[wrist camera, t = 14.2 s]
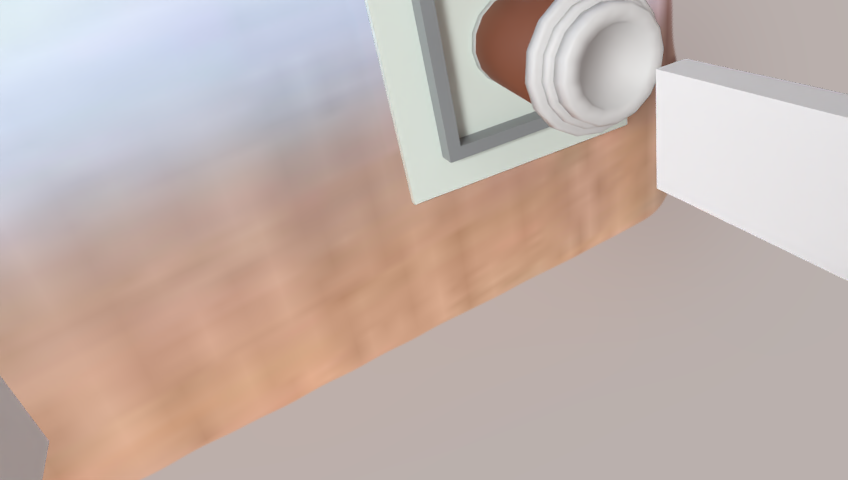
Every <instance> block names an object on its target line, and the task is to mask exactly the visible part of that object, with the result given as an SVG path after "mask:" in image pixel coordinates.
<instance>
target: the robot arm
mask: <svg viewBox="0 0 848 480" xmlns="http://www.w3.org/2000/svg"><path fill="white" fill-rule="evenodd" d="M656 152H657V189H659V190H661V191H663V192H665V193H667V194H670V195H672V196H674V197H676V198H678V199H680V200H682V201H684V202H686V203H688V204H690V205H692V206H694V207H696V208H698V209H700V210H703V211H705V212H707V213H709V214H711V215H713V216H715V217H717V218H719V219H721V220H723V221H725V222H727V223H730V224H731V225H734V226H736V227H738V228H740V229H742V230H744V231H746V232H748V233H750V234H752V235H754V236H756V237H759V238H760V239H763V240H764V241H767V242H769V243H771V244H773V245H775V246H777V247H779V248H781V249H783V250H785V251H787V252H789V253H792V254H793V255H795V256H798V257H800V258H802V259H804V260H806V261H808V262H810V263H812V264H814V265H816V266H818V267H820V268H822V269H825V270H826V271H828V272H831V273H833V274H835V275H837V276H839V277H841V278H843V279H845V280H847V281H848V94H845V93H841V92H836V91H832V90H827V89H823V88H818V87H814V86H809V85H805V84H800V83H796V82H791V81H786V80H782V79H777V78H773V77H768V76H764V75H759V74H754V73H750V72H746V71H741V70H737V69H732V68H728V67H723V66H719V65H714V64H709V63H704V62H700V61H696V60H691V59H687V58H685V59H682V60H680V61H677V62H674V63H671V64H668V65H666V66H663V67H660V68H657V69H656ZM48 445H49V440H48V439H47V438H46V436H45V435H44V434H43V432H42V431H41V430H40V428H39V427H38V426H37V424H36V423H35V422H34V420H33V419H32V418H31V416H30V415H29V414H28V412H27V411H26V410H25V408H24V407H23V406H22V404H21V403H20V402H19V400H18V399H17V398H16V396H15V395H14V394H13V392H12V391H11V390H10V388H9V387H8V386H7V384H6V383H5V382H4V380H3V379H2V378H1V376H0V480H42V478H43V472H44V467H45V461H46V456H47V450H48Z"/></svg>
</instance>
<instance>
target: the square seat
mask: <svg viewBox="0 0 848 480" xmlns="http://www.w3.org/2000/svg"><path fill="white" fill-rule="evenodd" d="M364 1H365V5H366V9H367V13H368V17H369V22H370V26H371V30H372V34H373V39H374V43H375V47H376V51H377V55H378V60H379V64H380V68H381V72H382V77H383V81H384V85H385V89H386V93H387V98H388V102H389V106H390V110H391V114H392V119H393V123H394V127H395V131H396V136H397V140H398V144H399V148H400V152H401V157H402V161H403V165H404V169H405V174H406V178H407V182H408V186H409V190H410V195H411V199H412V202H413V203H414V204H415V205H416V204H419V203H421V202H424V201H427V200H429V199H432V198H434V197H437V196H440V195H442V194H445V193H448V192H450V191H453V190H456V189H458V188H461V187H464V186H466V185H469V184H472V183H474V182H477V181H479V180H482V179H485V178H487V177H490V176H493V175H495V174H498V173H501V172H503V171H506V170H509V169H511V168H514V167H516V166H519V165H522V164H524V163H527V162H530V161H532V160H535V159H538V158H540V157H543V156H546V155H548V154H551V153H554V152H556V151H559V150H561V149H564V148H567V147H569V146H572V145H575V144H577V143H580V142H583V141H585V140H588V139H591V138H593V137H596V136H598V135H601V134H604V133H606V132H609V131H612V130H614V129H617V128H620V127H622V126H625V125H627V118H626V119H624V120H622V121H621V122H619V123H618V124H615V125H613V126H612V127H610V128H608V129H607V130H605V131H603V132H601V133H595V134H589V135H583V136H574V135H571V134H568V133H565V132H562V131H559V130H556V129H554V128H551V127H550V126H549V125H548V124H547V123H546V122H545V121H544V120H543V119H542V118H541V117H540V116H539V115H538V114H537V112H536V111H535V110H534V109H533V106H532V104H531V103H530V102H528V101H526V100H525V99H523V98H521V97H520V96H518V95H516V94H515V93H513V92H511V91H510V90H508V89H506V88H505V87H503V86H501V85H500V84H498V83H496V82H495V81H493V80H491V79H488V78H487V77H486V76H485V75H484V74H483V73H482V72H481V71H480V69H479V68H478V67H477V65H476V62H475V59H474V56H473V54H472V32H473V29H474V26H475V23H476V20H477V18H478V15H479V14H480V13H481V11H482V10H483V9H484V8H485V6H486V5H487V4H488V3H489V2H490V1H491V0H364Z"/></svg>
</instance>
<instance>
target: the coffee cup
mask: <svg viewBox="0 0 848 480" xmlns="http://www.w3.org/2000/svg"><path fill="white" fill-rule="evenodd" d="M663 51H664V47H663V41H662V36H661V30H660V26H659V24H658V23H657V21H656V20H655V16H654V12H653V11H652V9H651V8H650V6H649V5H648V3H647V2H646V0H491V1H490V2H489V3H488V4H487V5H486V6H485V8H484V9H483V10H482V11H481V13H480V14H479V15H478V18H477V20H476V23H475V26H474V29H473V32H472V54H473V56H474V59H475V62H476V65H477V67H478V68H479V69H480V71H481V72H482V73H483V74H484V75H485V76H486V77H487V78H488V79H491V80H493V81H495V82H496V83H498V84H500V85H501V86H503V87H505V88H506V89H508V90H510V91H511V92H513V93H515V94H516V95H518V96H520V97H521V98H523V99H525V100H526V101H528V102H530V103H531V104H532V106H533V109H534V110H535V111H536V112H537V114H538V115H539V116H540V117H541V118H542V119H543V120H544V121H545V122H546V123H547V124H548V125H549V126H550V127H551V128H554V129H556V130H559V131H562V132H565V133H568V134H571V135H574V136H583V135H589V134H595V133H601V132H603V131H605V130H607V129H608V128H610V127H612V126H613V125H615V124H618V123H619V122H621V121H622V120H624V119H626V118H627V117H629V116H631V115H632V114H634V113H635V112H636V111H637V110H638V109H639V108H640V106H641V105H642V104H643V103H644V102H645V100H646V99H647V98H648V97H649V96H650V94H651V92H652V90H653V88H654V85H655V83H656V69H657V68H660V67H661V65H662V58H663Z"/></svg>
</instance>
